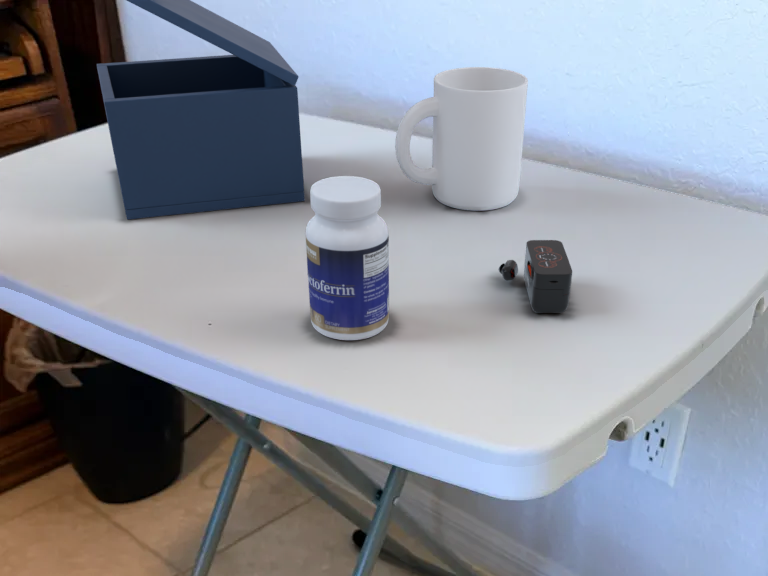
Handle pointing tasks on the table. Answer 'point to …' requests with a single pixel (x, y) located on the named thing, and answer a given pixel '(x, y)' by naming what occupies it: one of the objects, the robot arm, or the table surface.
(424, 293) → the table surface
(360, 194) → the pill bottle
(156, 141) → the dark blue open box
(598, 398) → the table surface
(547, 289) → the wireless earbuds
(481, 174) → the mug
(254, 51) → the lid
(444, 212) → the table surface
